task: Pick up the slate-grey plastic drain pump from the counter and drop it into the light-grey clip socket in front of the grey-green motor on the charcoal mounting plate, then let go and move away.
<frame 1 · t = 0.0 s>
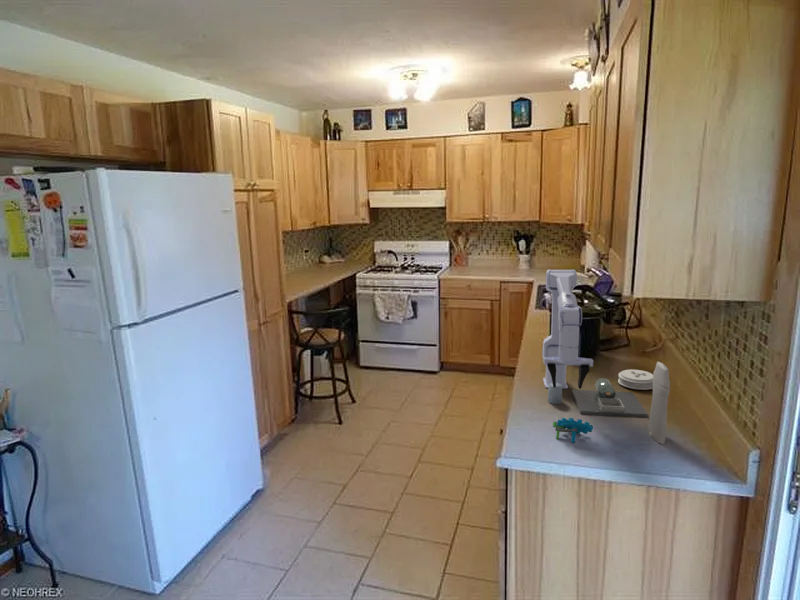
hand: (566, 386, 157), 10 cm above the table, tool pointing down, fingers open, 7 cm apart
teal bumpy piece: (572, 438, 145), on the table
pump: (554, 401, 171), on the table
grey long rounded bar: (656, 436, 145), on the table
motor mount: (607, 404, 167), on the table
lid: (636, 386, 183), on the table
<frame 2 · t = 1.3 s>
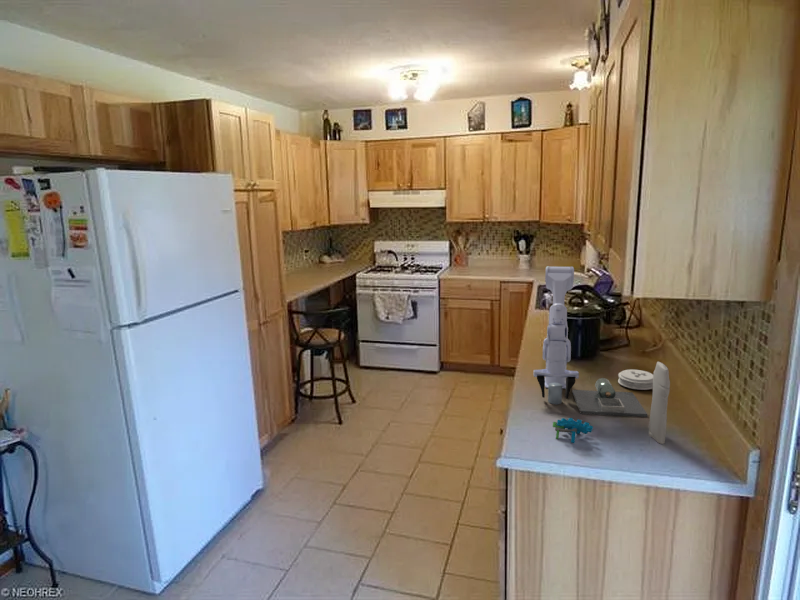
hand: (554, 397, 170), 2 cm above the table, tool pointing down, fingers open, 7 cm apart
nothing on the table moved.
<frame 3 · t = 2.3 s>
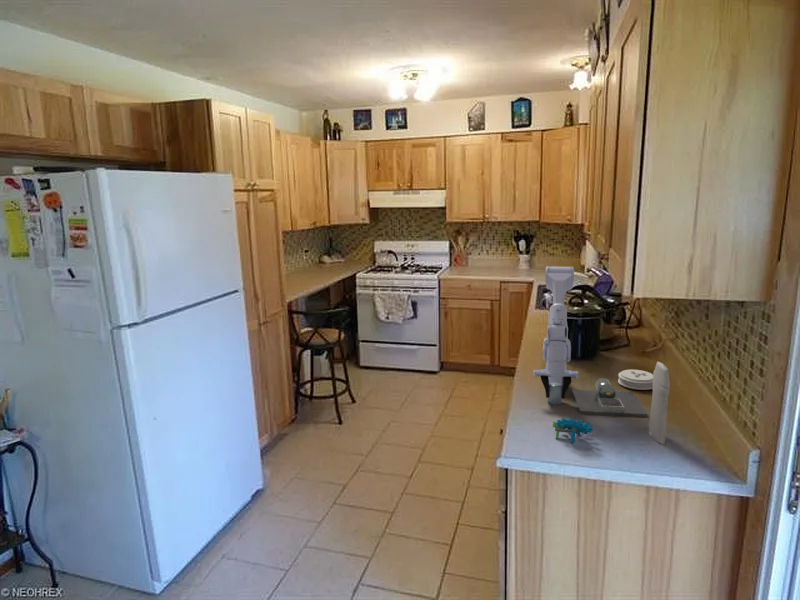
hand: (554, 397, 170), 2 cm above the table, tool pointing down, fingers closed on pump, 4 cm apart
pump: (554, 401, 171), on the table, touching gripper
everything else where it was.
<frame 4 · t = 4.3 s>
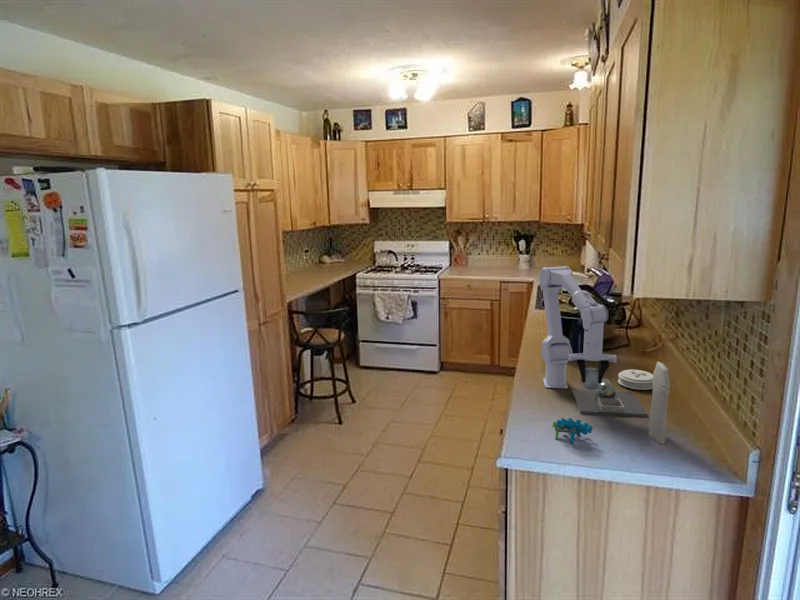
hand: (591, 382, 164), 9 cm above the table, tool pointing down, fingers closed on pump, 4 cm apart
pump: (590, 387, 164), point 7 cm above the table, touching gripper
everything else where it was.
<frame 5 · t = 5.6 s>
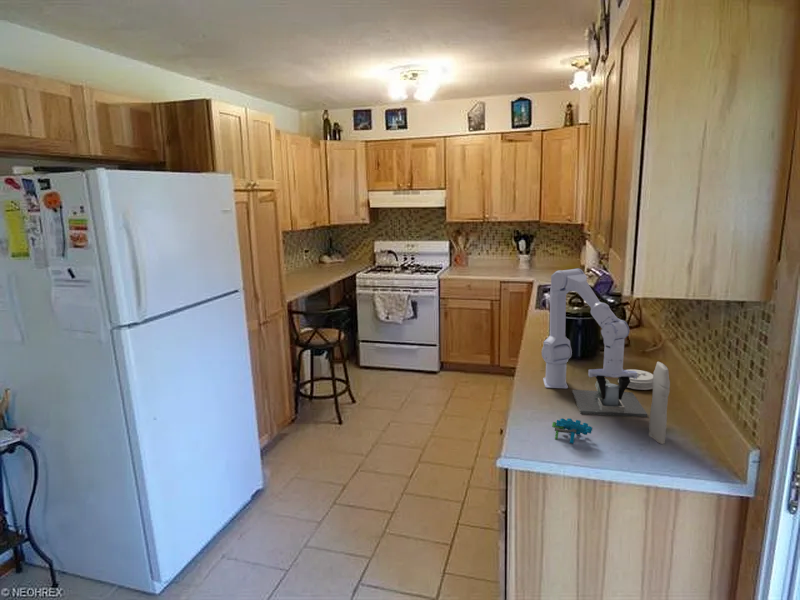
hand: (611, 398, 162), 4 cm above the table, tool pointing down, fingers closed on pump, 4 cm apart
pump: (610, 403, 163), point 2 cm above the table, touching gripper
everything else where it was.
when the fingers open (3 cm above the table, at t = 6.6 s): pump stays where it is, resting on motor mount.
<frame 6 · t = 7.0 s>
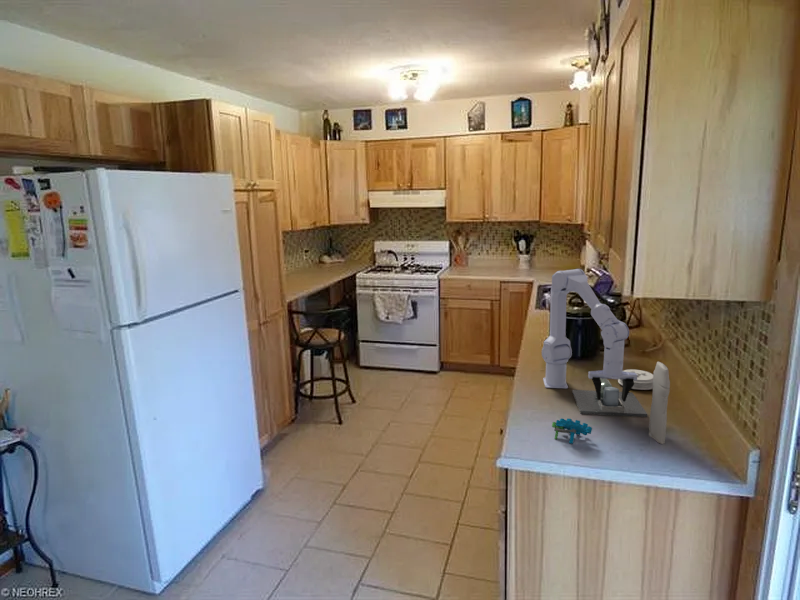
hand: (610, 399, 162), 3 cm above the table, tool pointing down, fingers open, 7 cm apart
pump: (610, 406, 163), point 1 cm above the table, touching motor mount
everything else where it was.
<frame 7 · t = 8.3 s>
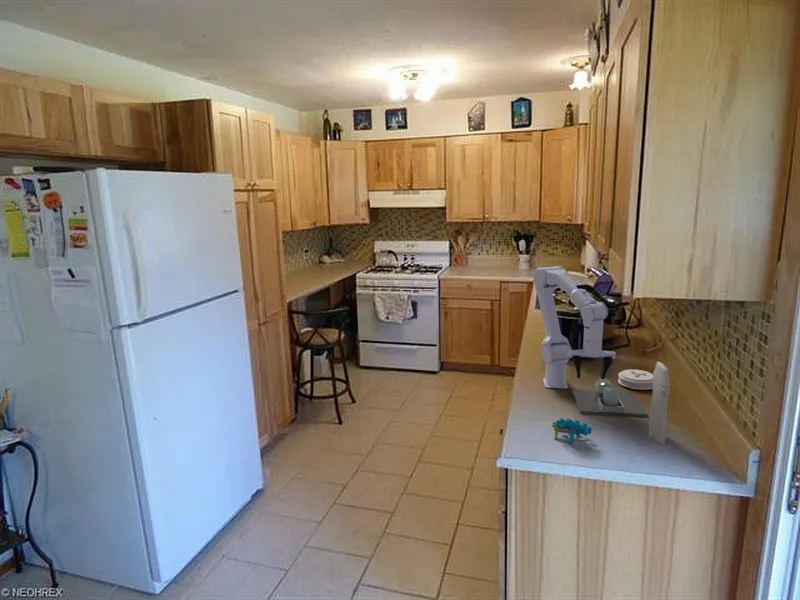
hand: (590, 377, 168), 9 cm above the table, tool pointing down, fingers open, 7 cm apart
nothing on the table moved.
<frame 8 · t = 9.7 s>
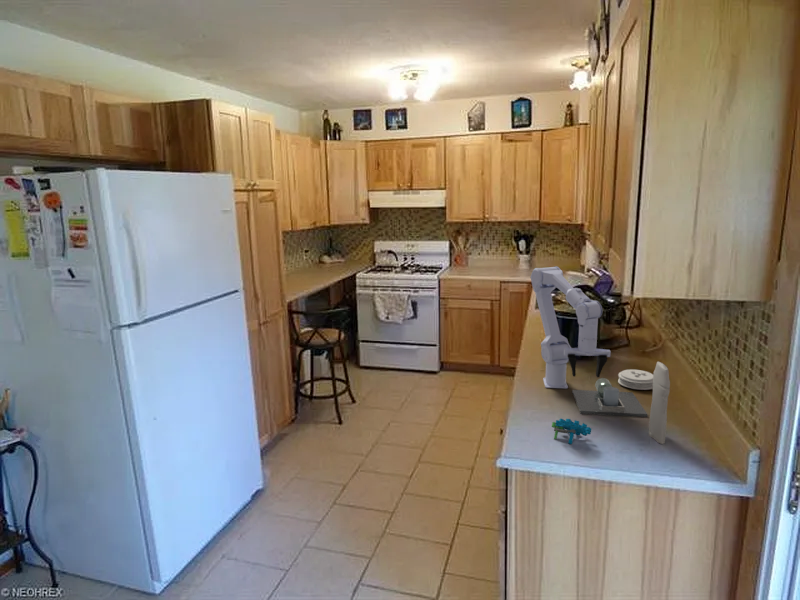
hand: (585, 375, 169), 9 cm above the table, tool pointing down, fingers open, 7 cm apart
nothing on the table moved.
at the end: pump 0.0 cm from the target spot on the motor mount, point 1.0 cm above the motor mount's base; pump tilted 0°; the gripper is holding nothing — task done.
